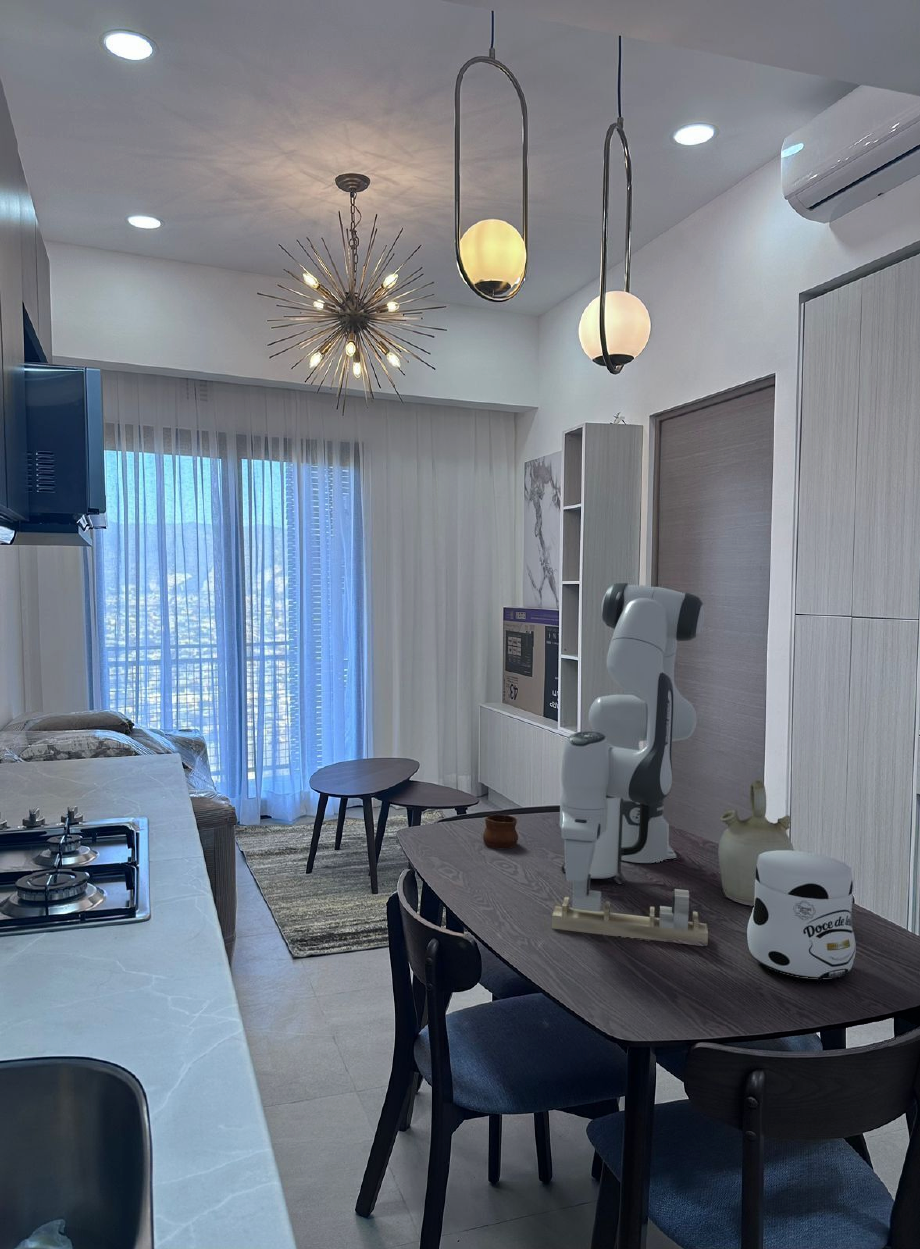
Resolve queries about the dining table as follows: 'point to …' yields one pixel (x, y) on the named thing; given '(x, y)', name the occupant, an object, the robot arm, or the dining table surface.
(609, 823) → the coffee press
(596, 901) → the grey block
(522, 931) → the dining table surface
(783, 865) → the milk container
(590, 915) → the rail
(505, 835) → the ceramic pot
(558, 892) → the dining table surface
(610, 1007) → the dining table surface
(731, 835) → the jug
